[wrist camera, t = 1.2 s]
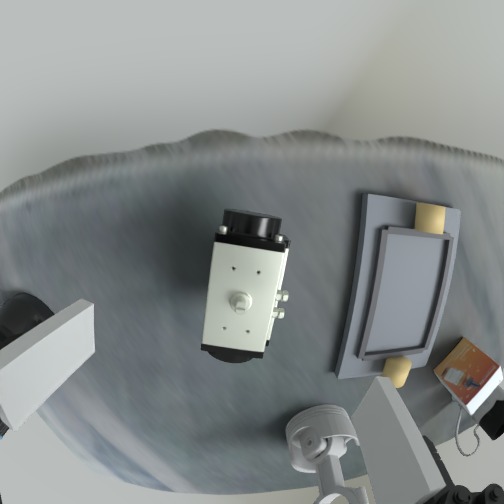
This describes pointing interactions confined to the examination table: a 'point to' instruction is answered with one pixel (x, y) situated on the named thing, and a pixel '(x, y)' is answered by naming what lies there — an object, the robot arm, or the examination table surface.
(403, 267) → the mounting plate
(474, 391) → the small box
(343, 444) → the engine component
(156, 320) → the examination table surface
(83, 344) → the robot arm
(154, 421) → the examination table surface
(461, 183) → the examination table surface
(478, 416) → the glass holder
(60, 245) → the examination table surface
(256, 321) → the pneumatic valve
